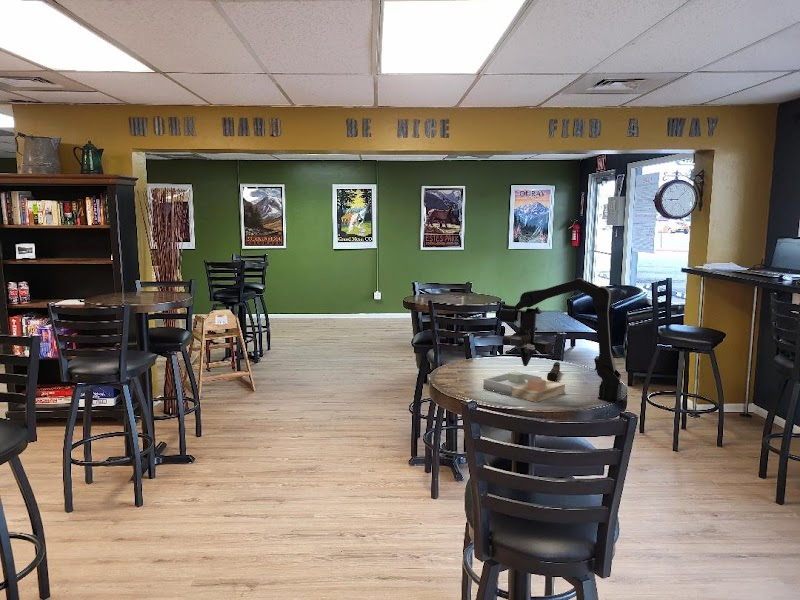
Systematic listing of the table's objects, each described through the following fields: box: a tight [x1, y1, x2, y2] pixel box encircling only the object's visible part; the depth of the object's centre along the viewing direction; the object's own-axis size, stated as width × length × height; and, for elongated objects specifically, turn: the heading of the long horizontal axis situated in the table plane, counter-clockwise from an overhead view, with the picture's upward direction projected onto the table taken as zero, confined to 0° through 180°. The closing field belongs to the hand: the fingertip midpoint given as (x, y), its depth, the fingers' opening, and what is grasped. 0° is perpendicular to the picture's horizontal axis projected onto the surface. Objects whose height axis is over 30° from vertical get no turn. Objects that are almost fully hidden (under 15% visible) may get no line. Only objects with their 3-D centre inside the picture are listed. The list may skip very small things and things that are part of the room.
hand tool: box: [546, 361, 561, 382], centre depth 229 cm, size 19×4×5 cm, turn 156°
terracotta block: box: [527, 378, 546, 391], centre depth 198 cm, size 4×4×3 cm
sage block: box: [507, 370, 526, 383], centre depth 213 cm, size 4×4×3 cm
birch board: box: [512, 378, 566, 403], centre depth 202 cm, size 10×19×3 cm, turn 134°
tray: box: [482, 370, 543, 397], centre depth 210 cm, size 12×20×4 cm, turn 134°
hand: (525, 365), depth 210 cm, fingers closed
